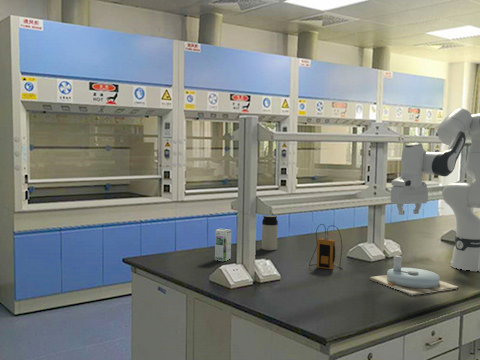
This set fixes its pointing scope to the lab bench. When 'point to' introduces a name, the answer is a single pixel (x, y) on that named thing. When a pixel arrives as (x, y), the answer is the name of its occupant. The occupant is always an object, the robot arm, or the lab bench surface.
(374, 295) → the lab bench surface
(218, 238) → the syrup box
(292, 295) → the lab bench surface
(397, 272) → the capstan dial
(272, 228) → the travel mug
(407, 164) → the robot arm
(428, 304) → the lab bench surface
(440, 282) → the base plate
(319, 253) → the multimeter
